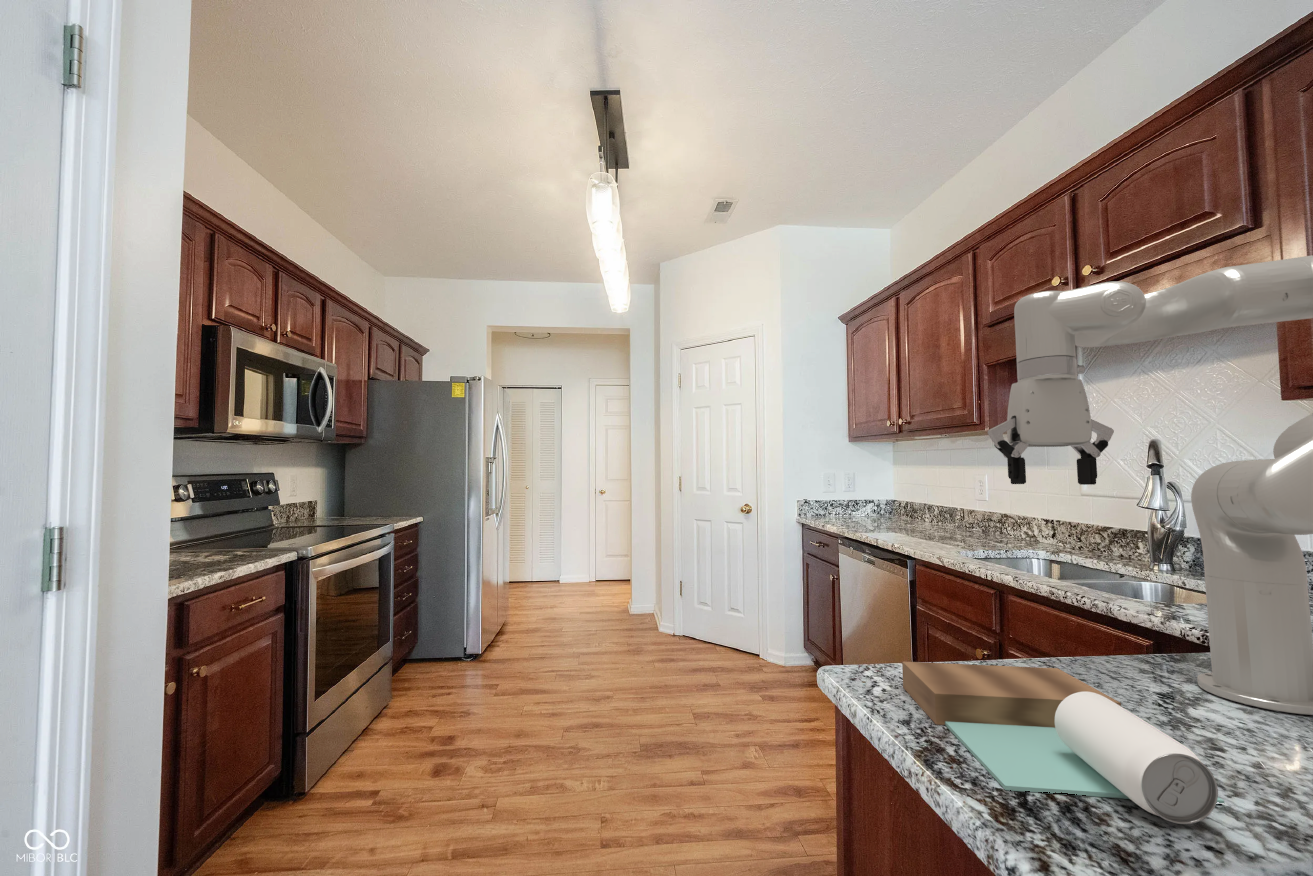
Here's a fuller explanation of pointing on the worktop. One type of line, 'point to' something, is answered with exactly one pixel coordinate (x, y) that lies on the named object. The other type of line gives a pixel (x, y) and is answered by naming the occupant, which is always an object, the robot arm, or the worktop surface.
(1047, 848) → the worktop surface
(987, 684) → the board
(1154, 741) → the can
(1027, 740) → the mat
